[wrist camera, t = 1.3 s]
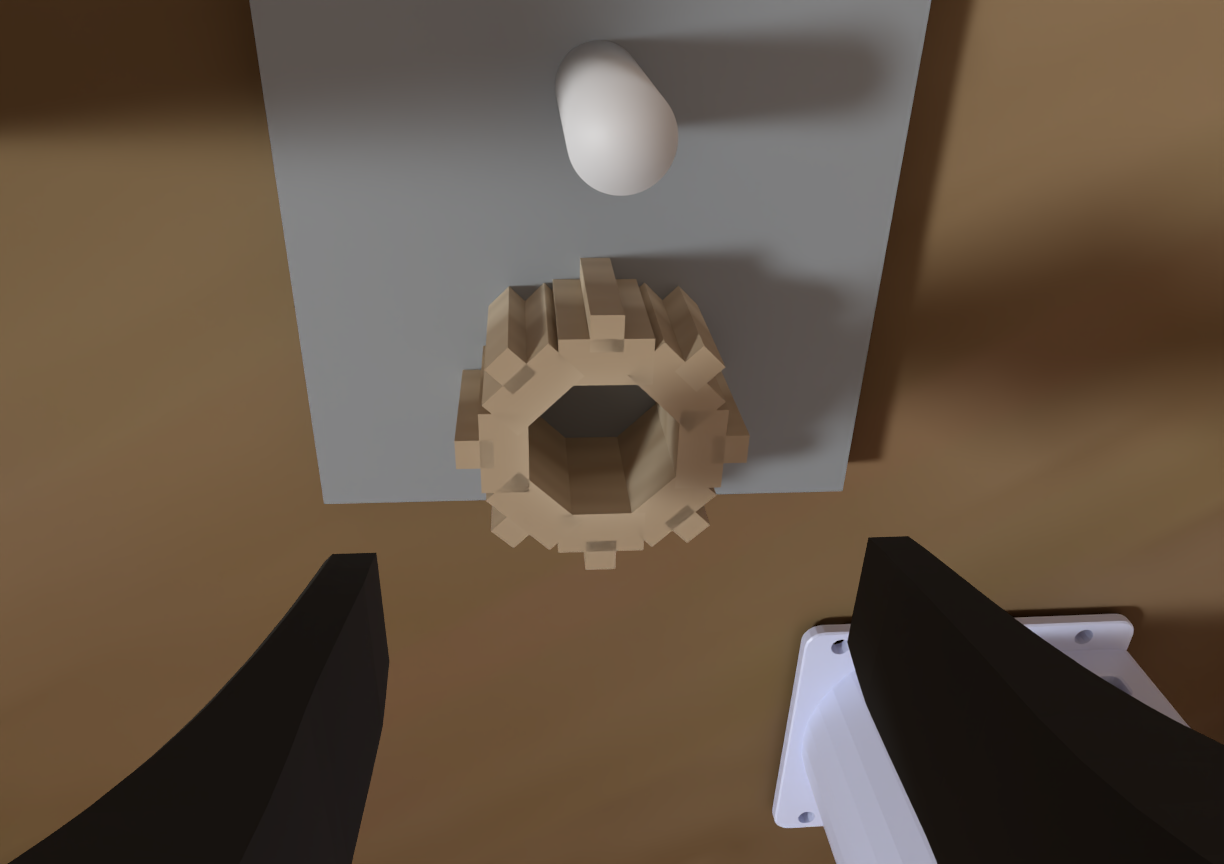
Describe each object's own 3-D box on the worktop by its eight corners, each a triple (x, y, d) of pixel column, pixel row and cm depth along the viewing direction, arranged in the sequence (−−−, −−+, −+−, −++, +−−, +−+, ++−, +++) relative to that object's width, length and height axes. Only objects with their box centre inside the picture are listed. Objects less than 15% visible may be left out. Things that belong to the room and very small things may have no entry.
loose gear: (729, 257, 19) (764, 313, 16) (707, 485, 22) (734, 565, 19) (456, 258, 18) (446, 316, 16) (469, 490, 21) (462, 573, 18)
